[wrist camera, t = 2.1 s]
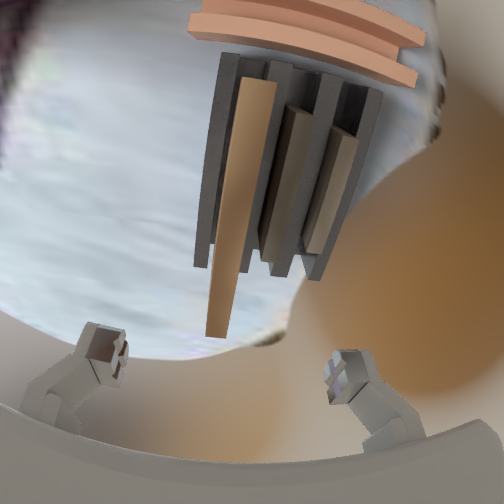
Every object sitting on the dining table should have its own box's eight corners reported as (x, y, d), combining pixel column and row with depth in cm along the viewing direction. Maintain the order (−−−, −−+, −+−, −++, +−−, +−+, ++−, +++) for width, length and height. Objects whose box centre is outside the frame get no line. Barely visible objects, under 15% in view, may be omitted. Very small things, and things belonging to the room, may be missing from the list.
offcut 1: (256, 220, 34) (260, 261, 28) (281, 102, 27) (296, 112, 20) (269, 222, 35) (277, 263, 28) (296, 106, 27) (316, 117, 20)
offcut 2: (294, 218, 34) (306, 252, 29) (321, 121, 28) (342, 135, 22) (307, 220, 35) (321, 254, 29) (335, 125, 28) (359, 140, 22)
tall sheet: (216, 230, 35) (205, 336, 22) (241, 76, 25) (244, 76, 12) (229, 231, 35) (225, 338, 22) (257, 79, 25) (277, 82, 12)
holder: (197, 39, 23) (187, 30, 18) (209, -13, 20) (202, -33, 14) (384, 83, 26) (414, 88, 21) (395, 35, 22) (426, 32, 17)
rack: (198, 235, 37) (191, 266, 32) (223, 56, 25) (219, 51, 19) (310, 249, 39) (321, 281, 34) (358, 87, 27) (385, 93, 21)
